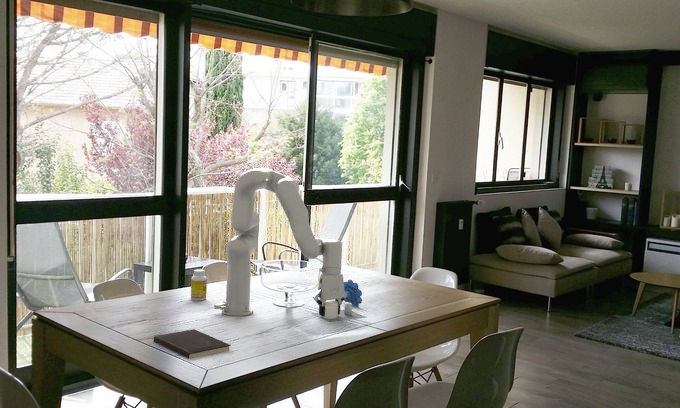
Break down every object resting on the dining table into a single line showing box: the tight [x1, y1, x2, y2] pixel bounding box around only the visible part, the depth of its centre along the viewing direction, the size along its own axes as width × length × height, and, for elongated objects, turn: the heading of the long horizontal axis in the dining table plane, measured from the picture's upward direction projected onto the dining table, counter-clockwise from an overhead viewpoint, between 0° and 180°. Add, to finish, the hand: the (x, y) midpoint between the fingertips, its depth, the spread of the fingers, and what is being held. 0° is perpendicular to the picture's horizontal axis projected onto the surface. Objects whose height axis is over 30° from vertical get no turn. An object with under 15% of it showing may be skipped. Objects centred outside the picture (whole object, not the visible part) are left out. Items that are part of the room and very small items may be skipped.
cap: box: [321, 299, 338, 319], centre depth 272 cm, size 6×6×6 cm
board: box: [310, 302, 367, 323], centre depth 274 cm, size 18×14×6 cm
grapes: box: [343, 279, 363, 308], centre depth 294 cm, size 12×7×12 cm, turn 47°
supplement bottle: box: [190, 268, 208, 302], centre depth 296 cm, size 7×7×13 cm
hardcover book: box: [153, 328, 231, 359], centre depth 231 cm, size 16×23×2 cm
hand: (329, 314), depth 272 cm, fingers closed on cap, 6 cm apart
